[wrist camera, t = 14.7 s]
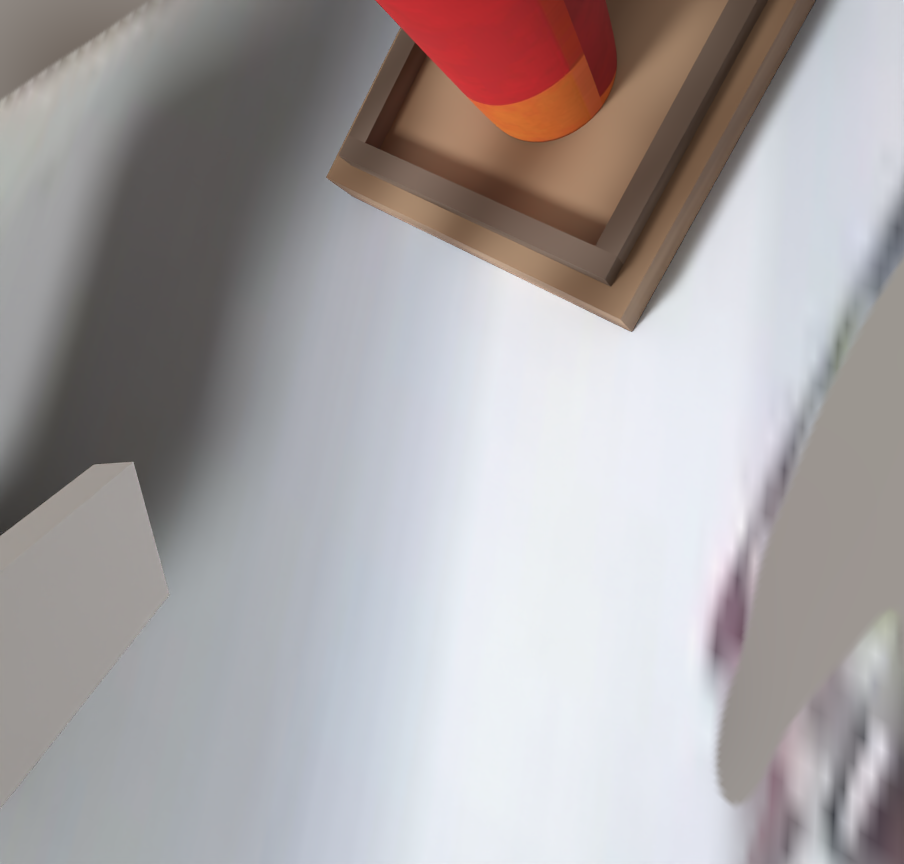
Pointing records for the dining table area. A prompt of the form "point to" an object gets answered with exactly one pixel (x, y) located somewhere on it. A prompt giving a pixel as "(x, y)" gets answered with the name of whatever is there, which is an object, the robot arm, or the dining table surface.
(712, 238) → the dining table surface
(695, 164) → the walnut base plate
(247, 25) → the dining table surface
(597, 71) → the coffee cup
